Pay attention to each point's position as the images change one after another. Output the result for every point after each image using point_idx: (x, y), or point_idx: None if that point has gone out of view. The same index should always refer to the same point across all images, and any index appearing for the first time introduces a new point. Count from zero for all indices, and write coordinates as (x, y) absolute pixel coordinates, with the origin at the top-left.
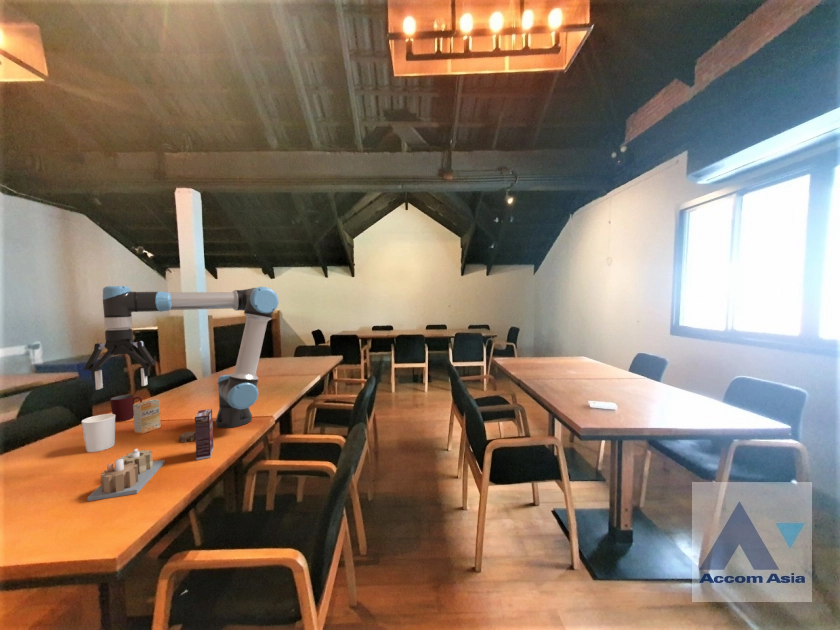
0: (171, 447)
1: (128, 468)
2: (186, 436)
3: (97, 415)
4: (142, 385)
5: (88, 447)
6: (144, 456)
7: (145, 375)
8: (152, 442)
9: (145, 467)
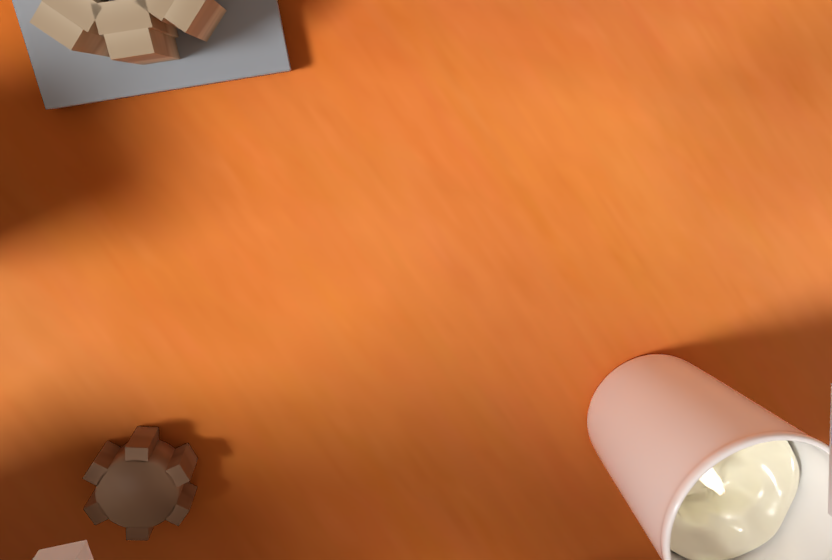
0: (185, 360)
1: None
2: (124, 459)
3: None
4: (66, 552)
5: (689, 365)
6: None
7: None
8: (373, 453)
9: None
